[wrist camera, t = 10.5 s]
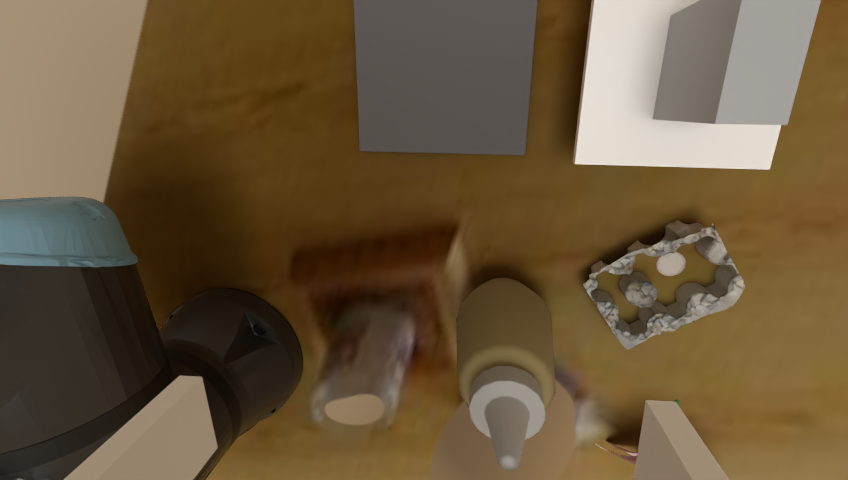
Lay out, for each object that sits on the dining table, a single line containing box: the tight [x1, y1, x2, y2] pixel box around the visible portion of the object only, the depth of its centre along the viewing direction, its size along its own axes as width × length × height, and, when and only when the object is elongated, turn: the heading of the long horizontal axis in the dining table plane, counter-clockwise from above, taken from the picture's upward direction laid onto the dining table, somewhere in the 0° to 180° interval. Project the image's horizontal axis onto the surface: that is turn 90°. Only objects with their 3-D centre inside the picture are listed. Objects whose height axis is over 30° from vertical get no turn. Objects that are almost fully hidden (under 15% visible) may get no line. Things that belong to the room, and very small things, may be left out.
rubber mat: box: [354, 0, 538, 155], centre depth 33 cm, size 14×14×1 cm
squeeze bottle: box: [456, 278, 555, 470], centre depth 30 cm, size 8×8×18 cm
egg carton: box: [583, 220, 745, 349], centre depth 34 cm, size 11×8×4 cm
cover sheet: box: [573, 0, 821, 170], centre depth 22 cm, size 12×12×9 cm
